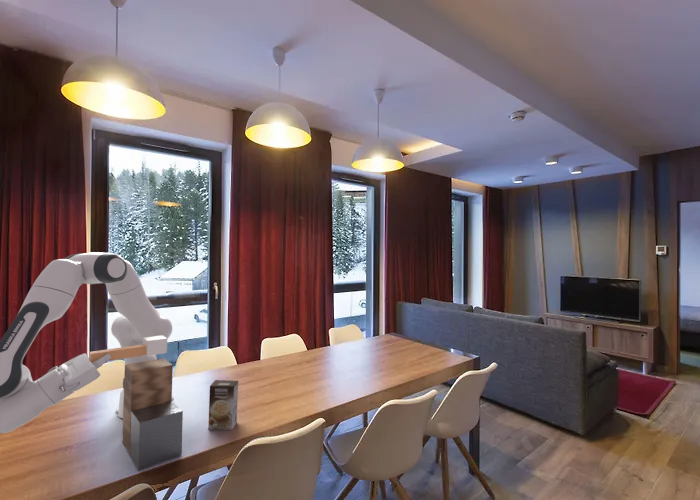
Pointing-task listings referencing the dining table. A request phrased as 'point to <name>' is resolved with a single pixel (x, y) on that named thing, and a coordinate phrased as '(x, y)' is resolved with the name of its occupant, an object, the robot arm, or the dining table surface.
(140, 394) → the tall wood-grain pillar
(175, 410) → the block
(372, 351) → the dining table surface
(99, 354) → the wooden handled mallet
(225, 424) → the coffee box
